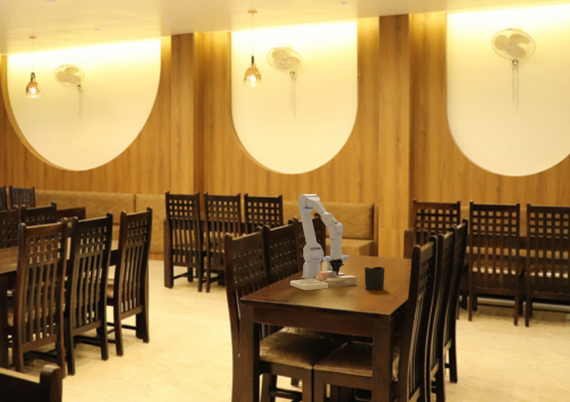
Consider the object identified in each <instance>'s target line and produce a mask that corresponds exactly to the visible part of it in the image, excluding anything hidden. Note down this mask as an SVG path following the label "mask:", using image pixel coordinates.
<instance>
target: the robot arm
mask: <svg viewBox="0 0 570 402" xmlns="http://www.w3.org/2000/svg"><path fill="white" fill-rule="evenodd" d="M297 203H298V209H299V214H300V218H301V219H300V220H301V224H302V228H303V234H304V238H305V243H306V244H305V245H304V247H303V248H302V250H303V254H302V256H303V259H304V261H305V262H304V263H303V266H302V268H303V270H302V271H303V272H302V276H301V278H302V279H304V280H305V279H314V275H318V272H320V271H321V262H325V263H327V261H329V262H330V264H331V266H332V267H331V270H332V271H336V275H338V273H340V269H341V267H342V263H343V261H341V260H344V261H345V260H347V261H348V260H350V255H348V254H345V255H343V251H342V250H343V234H344V233H345V225H344V224H343V223H342V222H339V221H338V220H337V219H336V218H335V217H334V215H333V213H331V212H328V211H327V210H326V208H325V207H324V205H323V204H322V202H321V198H320V197H319V195H318V194H317V193H311V194H304V193H301V194H300V195H299V197H298V199H297ZM314 210H315V211H316V213H318V214H319V216H321V221H322V222H323V224H324V225H325V226H326V227H327V228H328V229H327V232H328V235H329V239H330V250H329V251H330V255H327V256H328V257H326V256H324V255H325V253H324V250H323V248H322V245H321V244H320V243H318V242H317V238H316V237H317V236H316V232H315V228H314V224H313V219H312V215H311V214H312V211H314ZM331 259H332V260H331Z"/></svg>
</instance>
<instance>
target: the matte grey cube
mask: <svg viewBox="0 0 570 402" xmlns="http://www.w3.org/2000/svg"><path fill="white" fill-rule="evenodd" d="M326 271H327V272H329V278H332V277H336V271H333V270H326Z"/></svg>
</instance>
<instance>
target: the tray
mask: <svg viewBox="0 0 570 402" xmlns="http://www.w3.org/2000/svg"><path fill="white" fill-rule="evenodd" d="M290 286H291V287H293V288H297V289H300V290H303V291H312V290H313V291H314V290H320V289H323V290H324V289H328V283H326V282H322V281H319V280H316V279H305V278H304V279H298V280H290Z"/></svg>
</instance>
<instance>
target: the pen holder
mask: <svg viewBox="0 0 570 402" xmlns="http://www.w3.org/2000/svg"><path fill="white" fill-rule="evenodd" d="M384 284H385V267H383V266H375V267H368V266H367V267H364V287H365V290H369V291H382V290H384V287H385V286H384Z"/></svg>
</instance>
